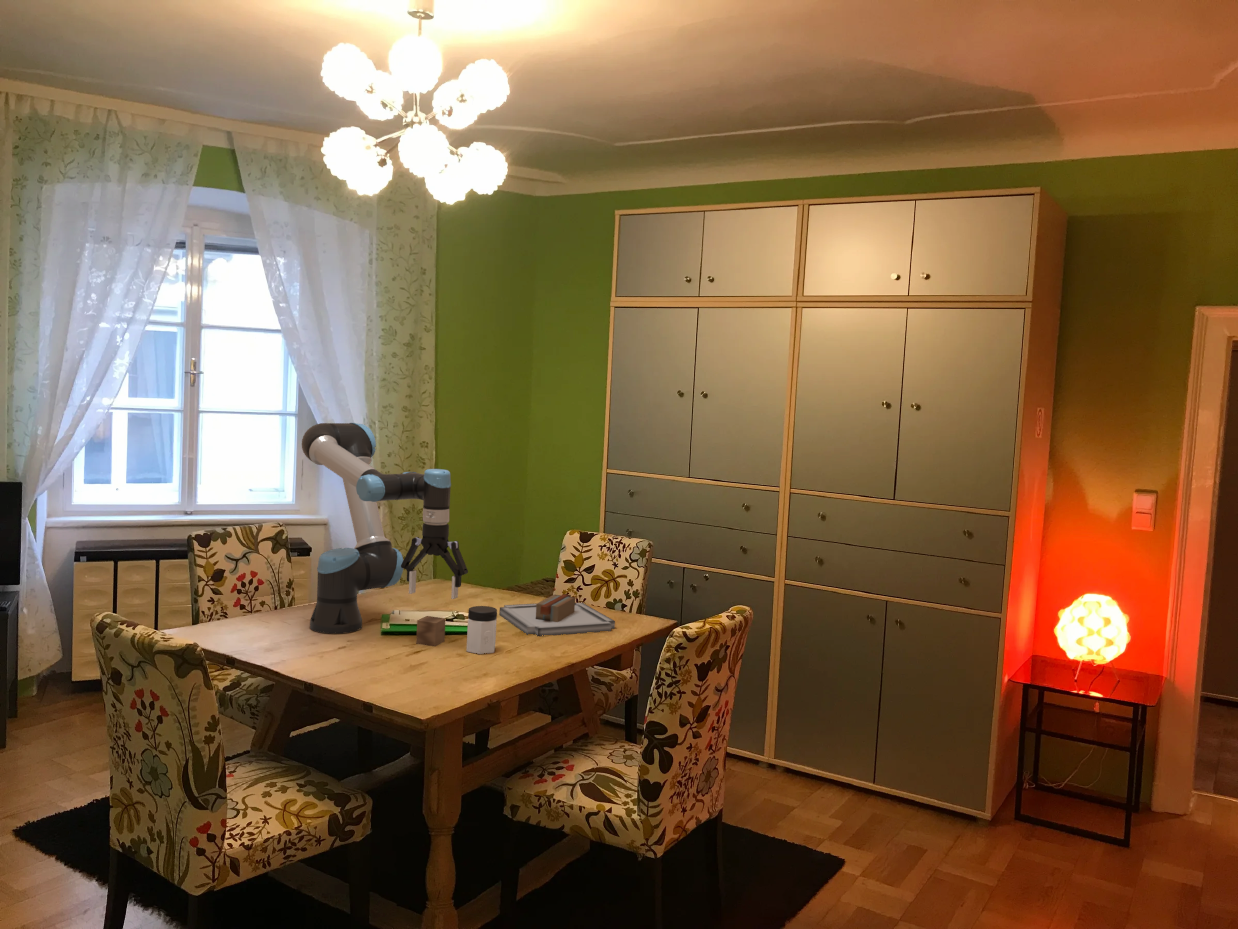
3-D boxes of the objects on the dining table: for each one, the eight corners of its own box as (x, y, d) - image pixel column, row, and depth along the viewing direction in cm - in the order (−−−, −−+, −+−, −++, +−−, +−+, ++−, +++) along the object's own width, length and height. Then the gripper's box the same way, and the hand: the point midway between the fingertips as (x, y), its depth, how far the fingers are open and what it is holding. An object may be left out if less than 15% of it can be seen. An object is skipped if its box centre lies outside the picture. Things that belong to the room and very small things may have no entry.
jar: (472, 655, 277) (474, 613, 276) (460, 648, 283) (462, 607, 282) (501, 652, 282) (503, 611, 281) (488, 644, 288) (490, 604, 287)
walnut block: (416, 644, 285) (417, 620, 284) (426, 639, 291) (427, 615, 290) (435, 646, 283) (436, 623, 283) (444, 641, 289) (445, 618, 288)
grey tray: (617, 632, 313) (619, 609, 312) (530, 639, 300) (531, 615, 299) (579, 609, 340) (580, 588, 339) (496, 614, 326) (497, 592, 325)
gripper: (390, 520, 284) (388, 593, 285) (469, 528, 277) (467, 602, 278) (403, 517, 291) (401, 588, 293) (481, 525, 284) (478, 597, 286)
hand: (433, 595), depth 286 cm, fingers open, 13 cm apart
